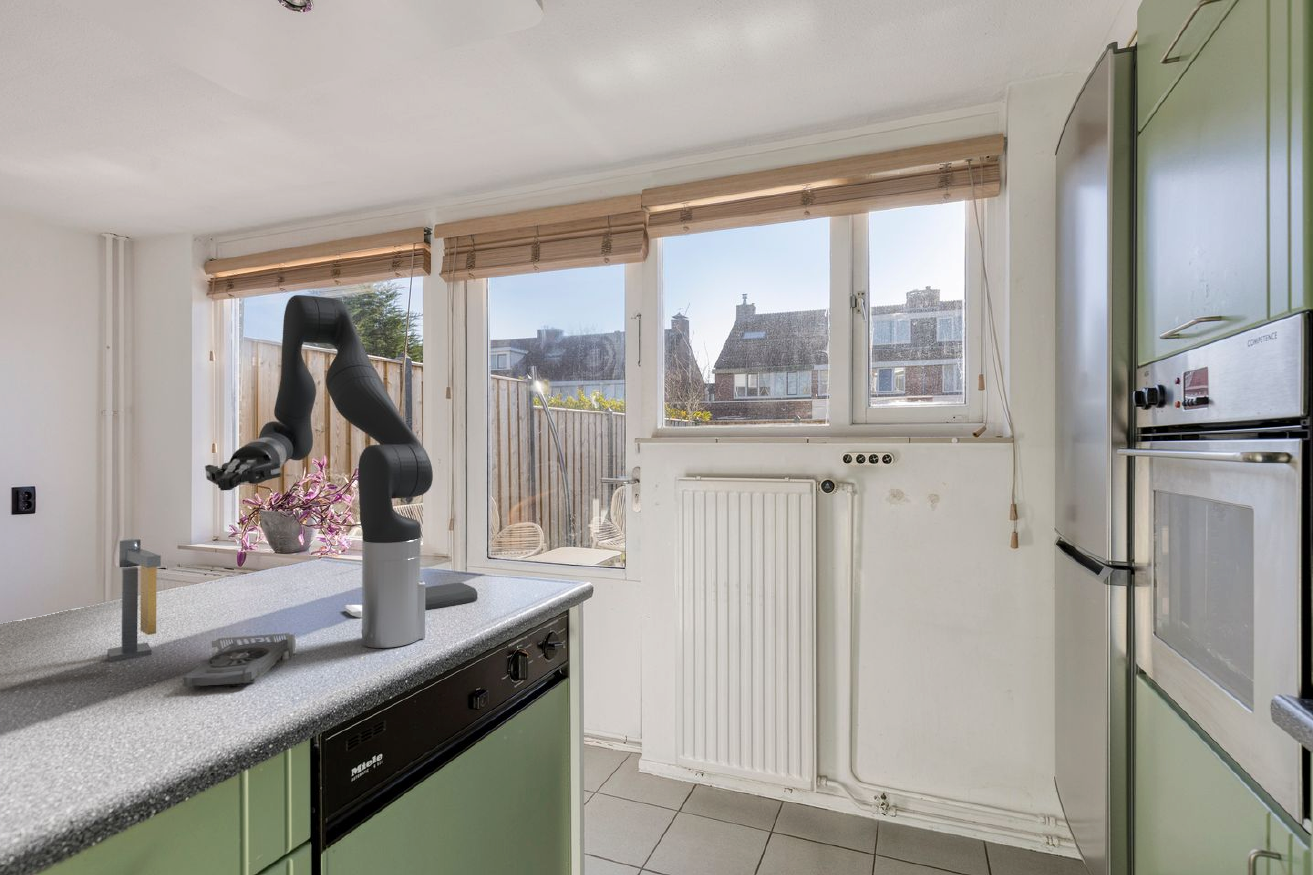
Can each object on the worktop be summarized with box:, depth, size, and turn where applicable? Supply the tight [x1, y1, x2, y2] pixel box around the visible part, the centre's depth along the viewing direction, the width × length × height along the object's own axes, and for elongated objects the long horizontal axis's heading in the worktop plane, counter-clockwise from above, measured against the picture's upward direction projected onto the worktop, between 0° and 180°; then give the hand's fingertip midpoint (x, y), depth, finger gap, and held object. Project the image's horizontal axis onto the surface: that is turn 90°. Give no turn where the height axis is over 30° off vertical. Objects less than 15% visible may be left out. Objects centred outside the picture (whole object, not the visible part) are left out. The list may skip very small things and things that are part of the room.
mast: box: [106, 566, 152, 663], centre depth 103 cm, size 5×5×14 cm
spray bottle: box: [344, 582, 479, 619], centre depth 134 cm, size 3×11×24 cm
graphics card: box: [182, 632, 297, 688], centre depth 96 cm, size 17×4×12 cm
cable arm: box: [118, 538, 162, 636], centre depth 100 cm, size 13×3×13 cm, turn 52°
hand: (224, 484), depth 113 cm, fingers closed
